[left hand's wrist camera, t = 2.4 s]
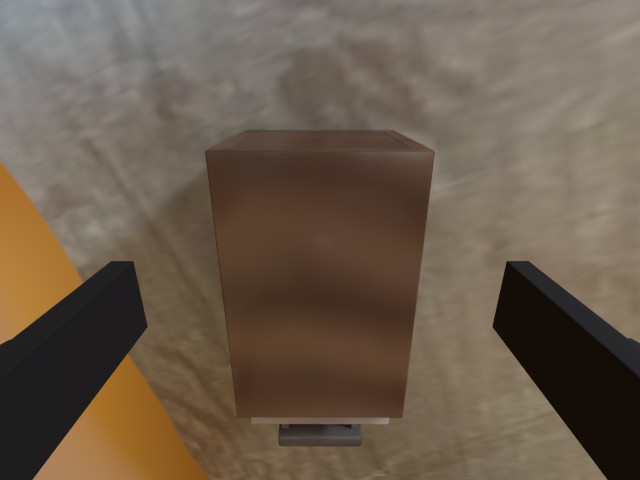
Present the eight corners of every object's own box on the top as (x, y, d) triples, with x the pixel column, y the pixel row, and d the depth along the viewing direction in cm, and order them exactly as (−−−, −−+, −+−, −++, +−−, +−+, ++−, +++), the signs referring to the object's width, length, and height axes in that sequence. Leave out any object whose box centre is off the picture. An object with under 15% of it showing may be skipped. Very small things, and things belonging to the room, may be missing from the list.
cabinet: (379, 325, 31) (402, 418, 22) (261, 325, 31) (237, 418, 22) (394, 130, 25) (435, 150, 16) (246, 130, 25) (204, 150, 16)
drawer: (369, 396, 33) (383, 479, 26) (270, 396, 33) (257, 479, 26) (385, 174, 25) (410, 206, 18) (255, 174, 25) (229, 206, 18)
